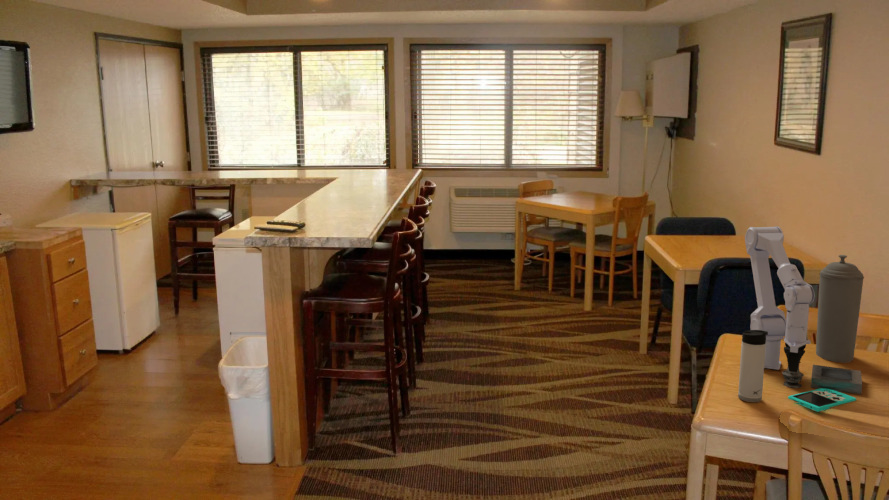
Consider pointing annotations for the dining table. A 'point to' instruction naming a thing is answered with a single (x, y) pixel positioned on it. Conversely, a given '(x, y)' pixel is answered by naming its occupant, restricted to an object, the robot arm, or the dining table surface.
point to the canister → (838, 311)
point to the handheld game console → (821, 399)
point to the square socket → (836, 379)
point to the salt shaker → (792, 378)
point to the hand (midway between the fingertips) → (793, 369)
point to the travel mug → (752, 365)
